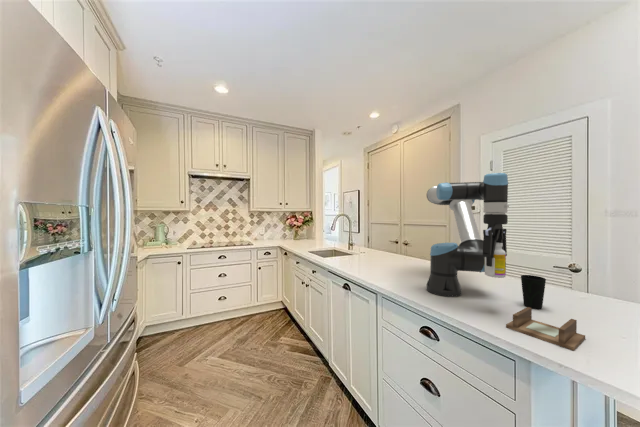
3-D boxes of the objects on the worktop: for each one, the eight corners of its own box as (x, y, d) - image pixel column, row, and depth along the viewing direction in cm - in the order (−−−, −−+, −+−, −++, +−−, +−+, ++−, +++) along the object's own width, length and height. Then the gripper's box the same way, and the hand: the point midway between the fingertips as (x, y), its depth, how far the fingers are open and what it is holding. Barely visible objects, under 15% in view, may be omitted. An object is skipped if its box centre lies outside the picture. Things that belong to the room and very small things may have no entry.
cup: (550, 311, 94) (550, 280, 94) (528, 309, 96) (528, 279, 95) (537, 303, 102) (537, 275, 101) (516, 302, 103) (516, 274, 103)
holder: (505, 327, 81) (506, 312, 81) (520, 318, 87) (520, 305, 87) (573, 350, 67) (573, 332, 67) (585, 338, 74) (585, 322, 74)
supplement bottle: (509, 278, 89) (509, 244, 89) (488, 277, 91) (489, 243, 91) (500, 274, 96) (500, 241, 96) (481, 273, 97) (481, 241, 97)
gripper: (494, 214, 85) (493, 279, 85) (517, 213, 95) (517, 272, 95) (471, 213, 91) (471, 274, 91) (496, 213, 101) (495, 268, 102)
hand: (494, 273), depth 93 cm, fingers closed on supplement bottle, 7 cm apart
